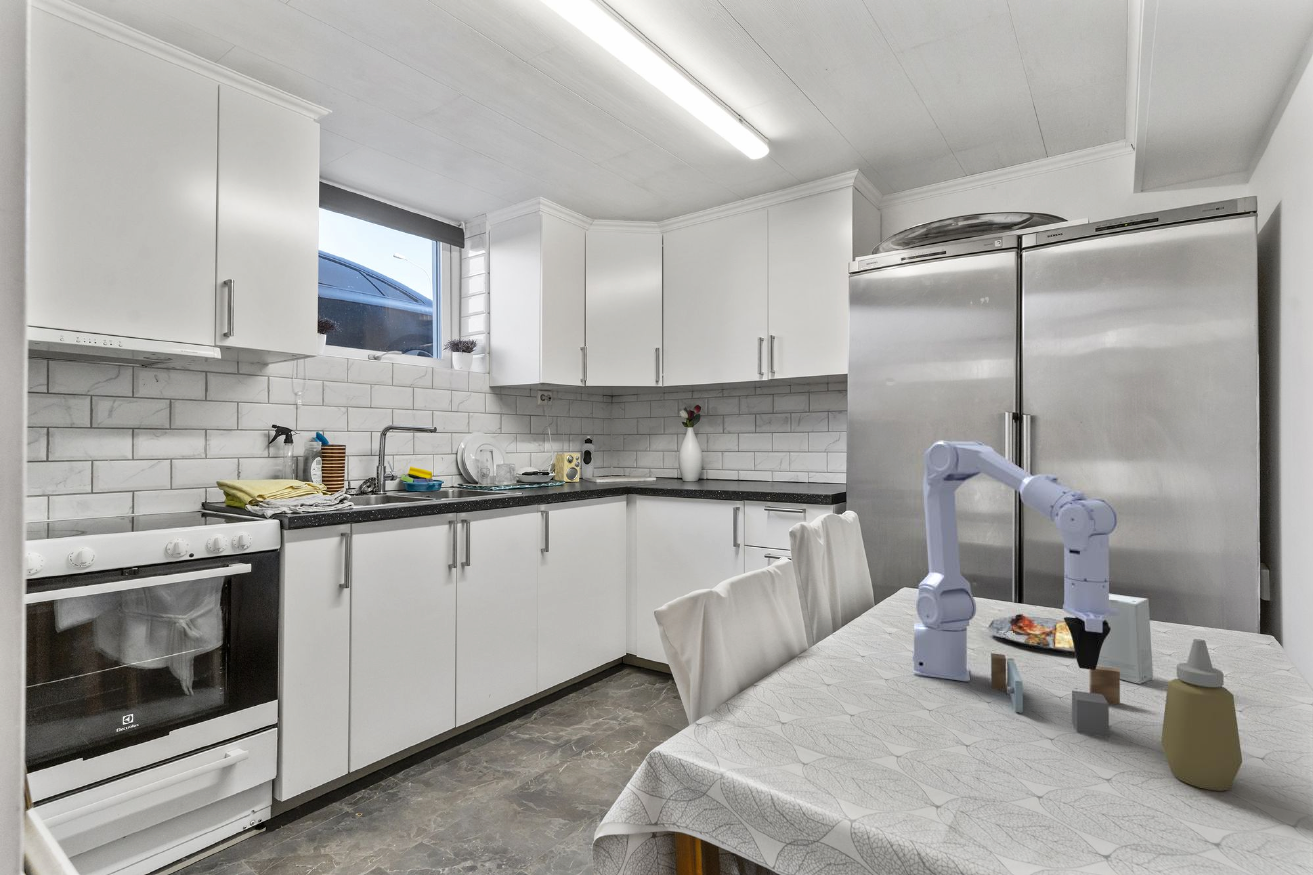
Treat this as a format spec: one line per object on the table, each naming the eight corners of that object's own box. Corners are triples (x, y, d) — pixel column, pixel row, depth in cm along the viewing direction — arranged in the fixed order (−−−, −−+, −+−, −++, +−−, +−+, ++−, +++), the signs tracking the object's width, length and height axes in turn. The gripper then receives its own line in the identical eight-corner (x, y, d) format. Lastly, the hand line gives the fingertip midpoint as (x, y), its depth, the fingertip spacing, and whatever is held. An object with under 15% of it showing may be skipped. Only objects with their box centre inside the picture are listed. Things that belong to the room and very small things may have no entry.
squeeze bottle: (1145, 766, 88) (1144, 632, 88) (1200, 763, 88) (1199, 630, 89) (1200, 798, 80) (1199, 650, 80) (1260, 795, 80) (1259, 649, 81)
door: (1000, 685, 117) (1000, 657, 117) (1013, 686, 116) (1013, 658, 116) (1008, 710, 106) (1008, 679, 106) (1022, 712, 105) (1022, 681, 105)
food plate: (999, 618, 162) (999, 604, 162) (1113, 636, 149) (1113, 620, 149) (980, 646, 142) (981, 630, 142) (1111, 669, 128) (1111, 651, 128)
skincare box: (1153, 679, 121) (1153, 598, 121) (1139, 685, 117) (1139, 603, 118) (1102, 666, 128) (1102, 590, 128) (1088, 672, 124) (1087, 594, 125)
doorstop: (1076, 732, 98) (1076, 699, 98) (1072, 722, 102) (1072, 690, 102) (1108, 737, 96) (1108, 703, 97) (1102, 727, 100) (1102, 694, 100)
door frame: (992, 688, 116) (991, 657, 116) (991, 683, 118) (991, 653, 118) (1120, 705, 108) (1120, 672, 108) (1117, 700, 110) (1116, 667, 111)
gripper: (1127, 590, 92) (1128, 687, 91) (1109, 572, 105) (1109, 657, 104) (1068, 585, 95) (1069, 679, 94) (1057, 568, 108) (1057, 651, 107)
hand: (1086, 667), depth 100 cm, fingers closed
